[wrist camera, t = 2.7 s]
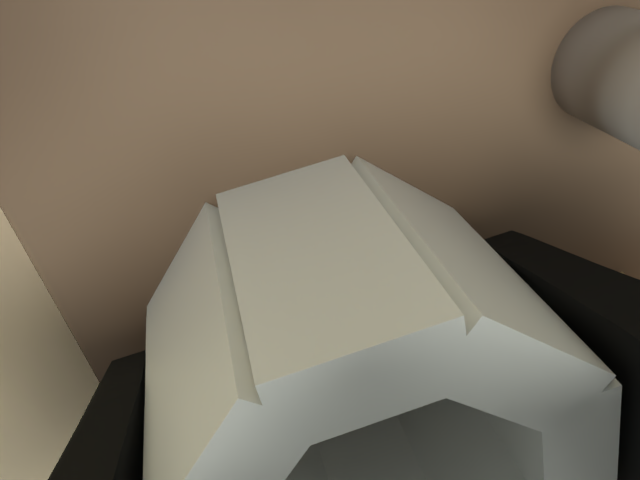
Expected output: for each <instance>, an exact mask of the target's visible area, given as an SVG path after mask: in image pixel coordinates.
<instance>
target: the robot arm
mask: <svg viewBox="0 0 640 480" xmlns="http://www.w3.org/2000/svg"><path fill="white" fill-rule="evenodd" d="M484 240H485V241H486V242H487V243H488V244H489V245H490V246H491V247H492V248H493V249H494V250H495V251H496V252H497V253H498V254H499V256H500V257H501V258H502V259H503V260H504V261H505V262H506V263H507V264H508V265H509V266H510V267H511V268H512V269H513V270H514V271H515V272H516V273H517V274H518V275H519V276H520V277H521V278H522V279H523V280H524V281H525V282H526V283H527V284H528V285H529V286H530V287H531V288H532V289H533V290H534V292H535V293H536V294H537V295H538V296H539V297H540V298H541V299H542V300H543V301H544V302H545V303H546V304H547V305H548V306H549V307H550V308H551V309H552V310H553V311H554V312H555V313H556V314H557V315H558V316H559V317H560V318H561V319H562V320H563V321H564V322H565V323H566V324H567V325H568V326H569V328H570V329H571V330H572V331H573V332H574V333H575V334H576V335H577V336H578V337H579V338H580V339H581V340H582V341H583V342H584V343H585V344H586V345H587V346H588V347H589V348H590V349H591V350H592V351H593V352H594V353H595V354H596V355H597V356H598V357H599V358H600V359H601V360H602V361H603V362H604V363H605V365H606V366H607V367H608V368H609V369H610V370H611V371H612V372H613V373H614V374H615V375H616V377H615V378H616V380H617V381H618V382H619V383H620V384H621V385H622V396H621V415H620V434H619V454H618V473H617V480H640V280H639V279H636V278H633V277H631V276H628V275H625V274H623V273H620V272H617V271H615V270H612V269H610V268H607V267H604V266H602V265H599V264H597V263H594V262H592V261H589V260H587V259H584V258H582V257H579V256H577V255H574V254H572V253H569V252H567V251H564V250H562V249H559V248H557V247H554V246H552V245H549V244H547V243H544V242H542V241H539V240H537V239H534V238H532V237H529V236H527V235H524V234H521V233H518V232H515V231H512V230H511V231H508V232H505V233H502V234H499V235H496V236H493V237H489V238H486V239H484ZM145 368H146V350H144V351H141V352H138V353H135V354H132V355H128V356H125V357H122V358H119V359H116V360H113V361H111V363H110V365H109V367H108V369H107V371H106V372H105V374H104V376H103V378H102V380H101V382H100V383H99V385H98V387H97V389H96V391H95V393H94V395H93V397H92V399H91V401H90V403H89V405H88V407H87V409H86V411H85V413H84V414H83V416H82V418H81V420H80V422H79V424H78V426H77V428H76V430H75V432H74V433H73V435H72V437H71V439H70V441H69V443H68V444H67V446H66V448H65V450H64V452H63V453H62V455H61V457H60V459H59V461H58V463H57V464H56V466H55V468H54V470H53V472H52V473H51V475H50V477H49V479H48V480H143V446H144V407H145Z"/></svg>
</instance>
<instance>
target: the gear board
mask: <svg viewBox="0 0 640 480" xmlns="http://www.w3.org/2000/svg"><path fill="white" fill-rule="evenodd" d="M342 155H345V157H346V158H347V159H348V161H349V162H350V163H352V162H353V160H354V159H355V157H356V156H358V157H359V158H361V159H363V160H365V161H367V162H369V163H371V164H372V165H374V166H376V167H378V168H380V169H382V170H384V171H385V172H387V173H389V174H391V175H393V176H395V177H397V178H398V179H400V180H402V181H404V182H406V183H408V184H410V185H411V186H413V187H415V188H417V189H419V190H421V191H423V192H424V193H426V194H428V195H430V196H432V197H434V198H436V199H437V200H439V201H441V202H443V203H445V204H447V205H449V206H450V207H452V208H454V209H455V210H456V211H457V212H458V213H459V214H460V215H461V216H462V217H463V219H464V220H465V221H466V222H467V223H468V224H469V225H470V226H471V227H472V228H473V229H474V230H475V231H476V232H477V233H478V234H479V235H480V236H481V237H482V238H483V239H486V238H489V237H493V236H496V235H499V234H502V233H505V232H508V231H511V230H512V231H515V232H518V233H521V234H524V235H527V236H529V237H532V238H534V239H537V240H539V241H542V242H544V243H547V244H549V245H552V246H554V247H557V248H559V249H562V250H564V251H567V252H569V253H572V254H574V255H577V256H579V257H582V258H584V259H587V260H589V261H592V262H594V263H597V264H599V265H602V266H604V267H607V268H610V269H612V270H615V271H617V272H620V273H623V274H625V275H628V276H631V277H633V278H636V279H639V280H640V0H0V207H1V209H2V210H3V212H4V214H5V216H6V217H7V219H8V221H9V223H10V225H11V226H12V228H13V230H14V232H15V233H16V235H17V237H18V239H19V240H20V242H21V244H22V246H23V248H24V249H25V251H26V253H27V255H28V256H29V258H30V260H31V262H32V263H33V265H34V267H35V269H36V271H37V272H38V274H39V276H40V278H41V279H42V281H43V283H44V285H45V286H46V288H47V290H48V292H49V293H50V295H51V297H52V299H53V301H54V302H55V304H56V306H57V308H58V309H59V311H60V313H61V315H62V316H63V318H64V320H65V322H66V324H67V325H68V327H69V329H70V331H71V332H72V334H73V336H74V338H75V339H76V341H77V343H78V345H79V347H80V348H81V350H82V352H83V354H84V355H85V357H86V359H87V361H88V362H89V364H90V366H91V368H92V369H93V371H94V373H95V375H96V377H97V378H98V380H99V382H101V380H102V378H103V376H104V374H105V372H106V371H107V369H108V367H109V365H110V363H111V361H113V360H116V359H119V358H122V357H125V356H128V355H132V354H135V353H138V352H141V351H144V350H146V317H147V305H148V303H149V302H150V300H151V298H152V296H153V295H154V293H155V291H156V289H157V287H158V286H159V284H160V282H161V280H162V279H163V277H164V275H165V273H166V271H167V270H168V268H169V266H170V264H171V263H172V261H173V259H174V257H175V255H176V254H177V252H178V250H179V248H180V247H181V245H182V243H183V241H184V240H185V238H186V236H187V234H188V232H189V231H190V229H191V227H192V225H193V224H194V222H195V220H196V218H197V216H198V215H199V213H200V211H201V209H202V208H203V206H204V204H205V202H206V203H208V204H211V205H213V206H215V207H217V208H218V204H217V199H216V194H218V193H222V192H225V191H228V190H231V189H235V188H238V187H241V186H244V185H248V184H251V183H254V182H257V181H261V180H264V179H267V178H270V177H274V176H277V175H280V174H283V173H287V172H290V171H293V170H296V169H300V168H303V167H306V166H309V165H313V164H316V163H319V162H322V161H326V160H329V159H332V158H335V157H339V156H342Z"/></svg>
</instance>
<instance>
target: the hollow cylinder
mask: <svg viewBox="0 0 640 480" xmlns="http://www.w3.org/2000/svg"><path fill="white" fill-rule="evenodd" d="M216 199H217V204H218V208H217V207H215V206H213V205H211V204H208V203H206V202H205V204H204V206H203V208H202V209H201V211H200V213H199V215H198V216H197V218H196V220H195V222H194V224H193V225H192V227H191V229H190V231H189V232H188V234H187V236H186V238H185V240H184V241H183V243H182V245H181V247H180V248H179V250H178V252H177V254H176V255H175V257H174V259H173V261H172V263H171V264H170V266H169V268H168V270H167V271H166V273H165V275H164V277H163V279H162V280H161V282H160V284H159V286H158V287H157V289H156V291H155V293H154V295H153V296H152V298H151V300H150V302H149V303H148V305H147V317H146V368H145V407H144V446H143V480H617V473H618V454H619V434H620V415H621V396H622V385H621V384H620V383H619V382H618V381H617V380H616V378H615V377H616V375H615V374H614V373H613V372H612V371H611V370H610V369H609V368H608V367H607V366H606V365H605V363H604V362H603V361H602V360H601V359H600V358H599V357H598V356H597V355H596V354H595V353H594V352H593V351H592V350H591V349H590V348H589V347H588V346H587V345H586V344H585V343H584V342H583V341H582V340H581V339H580V338H579V337H578V336H577V335H576V334H575V333H574V332H573V331H572V330H571V329H570V328H569V326H568V325H567V324H566V323H565V322H564V321H563V320H562V319H561V318H560V317H559V316H558V315H557V314H556V313H555V312H554V311H553V310H552V309H551V308H550V307H549V306H548V305H547V304H546V303H545V302H544V301H543V300H542V299H541V298H540V297H539V296H538V295H537V294H536V293H535V292H534V290H533V289H532V288H531V287H530V286H529V285H528V284H527V283H526V282H525V281H524V280H523V279H522V278H521V277H520V276H519V275H518V274H517V273H516V272H515V271H514V270H513V269H512V268H511V267H510V266H509V265H508V264H507V263H506V262H505V261H504V260H503V259H502V258H501V257H500V256H499V254H498V253H497V252H496V251H495V250H494V249H493V248H492V247H491V246H490V245H489V244H488V243H487V242H486V241H485V240H484V239H483V238H482V237H481V236H480V235H479V234H478V233H477V232H476V231H475V230H474V229H473V228H472V227H471V226H470V225H469V224H468V223H467V222H466V221H465V220H464V219H463V217H462V216H461V215H460V214H459V213H458V212H457V211H456V210H455V209H454V208H452V207H450V206H449V205H447V204H445V203H443V202H441V201H439V200H437V199H436V198H434V197H432V196H430V195H428V194H426V193H424V192H423V191H421V190H419V189H417V188H415V187H413V186H411V185H410V184H408V183H406V182H404V181H402V180H400V179H398V178H397V177H395V176H393V175H391V174H389V173H387V172H385V171H384V170H382V169H380V168H378V167H376V166H374V165H372V164H371V163H369V162H367V161H365V160H363V159H361V158H359V157H358V156H356V157H355V159H354V160H353V162H352V163H350V162H349V161H348V159H347V158H346V157H345V155H342V156H339V157H335V158H332V159H329V160H326V161H322V162H319V163H316V164H313V165H309V166H306V167H303V168H300V169H296V170H293V171H290V172H287V173H283V174H280V175H277V176H274V177H270V178H267V179H264V180H261V181H257V182H254V183H251V184H248V185H244V186H241V187H238V188H235V189H231V190H228V191H225V192H222V193H218V194H216Z"/></svg>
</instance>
